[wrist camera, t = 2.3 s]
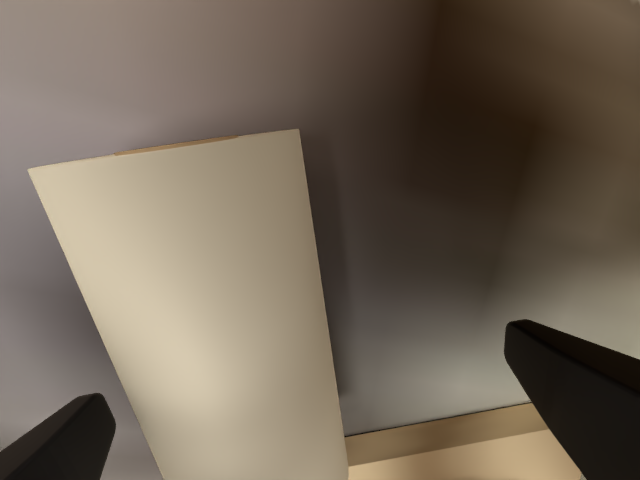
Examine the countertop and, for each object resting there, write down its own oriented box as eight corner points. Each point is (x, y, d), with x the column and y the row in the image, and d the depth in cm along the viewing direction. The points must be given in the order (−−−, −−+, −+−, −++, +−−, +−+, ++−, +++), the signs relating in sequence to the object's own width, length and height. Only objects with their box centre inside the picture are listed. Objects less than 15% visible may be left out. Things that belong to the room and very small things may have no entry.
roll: (381, 461, 10) (249, 645, 7) (279, 388, 14) (159, 487, 10) (348, 119, 7) (50, 165, 3) (222, 135, 10) (14, 166, 7)
